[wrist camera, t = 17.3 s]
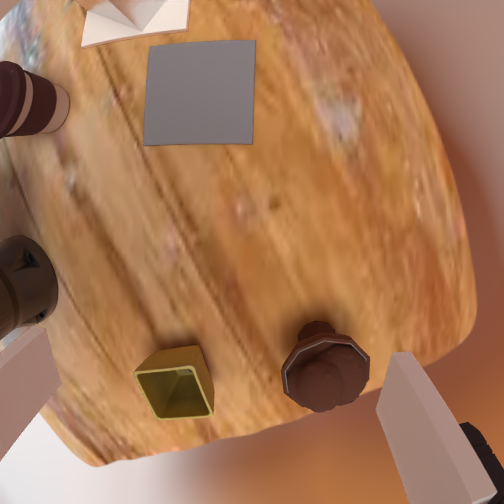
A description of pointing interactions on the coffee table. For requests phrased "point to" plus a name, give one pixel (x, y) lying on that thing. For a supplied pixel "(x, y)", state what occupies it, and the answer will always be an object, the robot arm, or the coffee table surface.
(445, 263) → the coffee table surface
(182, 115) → the rubber mat
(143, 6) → the metal cover
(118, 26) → the serving board
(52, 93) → the coffee cup
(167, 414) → the flower pot
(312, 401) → the ice cream bowl
